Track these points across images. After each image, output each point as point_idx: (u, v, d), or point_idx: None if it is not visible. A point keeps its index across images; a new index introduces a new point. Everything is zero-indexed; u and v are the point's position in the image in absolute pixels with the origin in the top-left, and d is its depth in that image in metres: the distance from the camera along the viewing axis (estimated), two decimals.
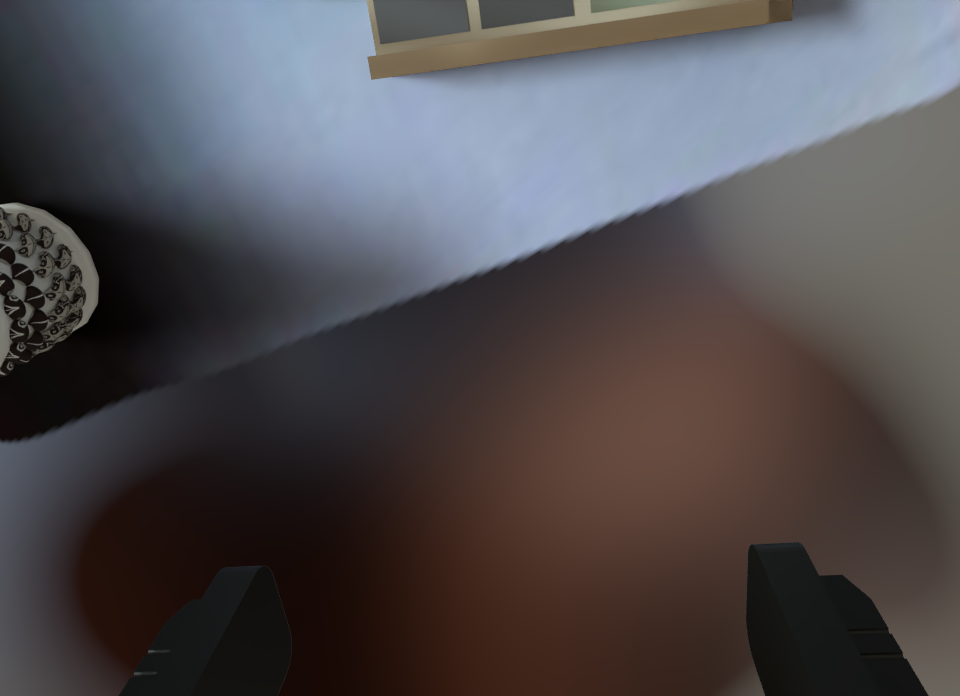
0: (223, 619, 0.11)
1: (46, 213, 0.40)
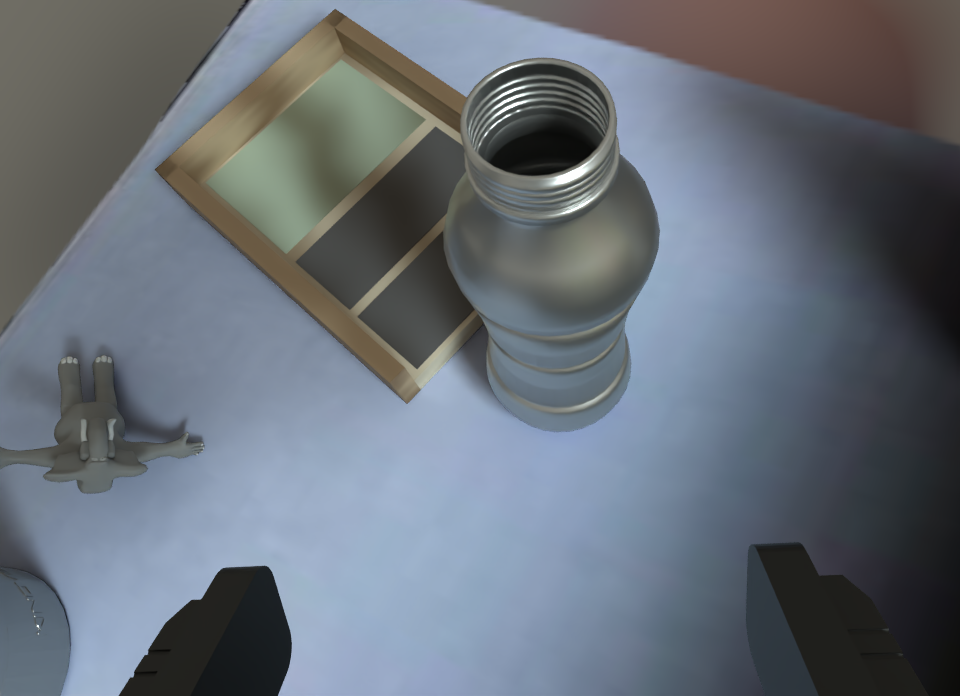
0: (223, 619, 0.11)
1: None
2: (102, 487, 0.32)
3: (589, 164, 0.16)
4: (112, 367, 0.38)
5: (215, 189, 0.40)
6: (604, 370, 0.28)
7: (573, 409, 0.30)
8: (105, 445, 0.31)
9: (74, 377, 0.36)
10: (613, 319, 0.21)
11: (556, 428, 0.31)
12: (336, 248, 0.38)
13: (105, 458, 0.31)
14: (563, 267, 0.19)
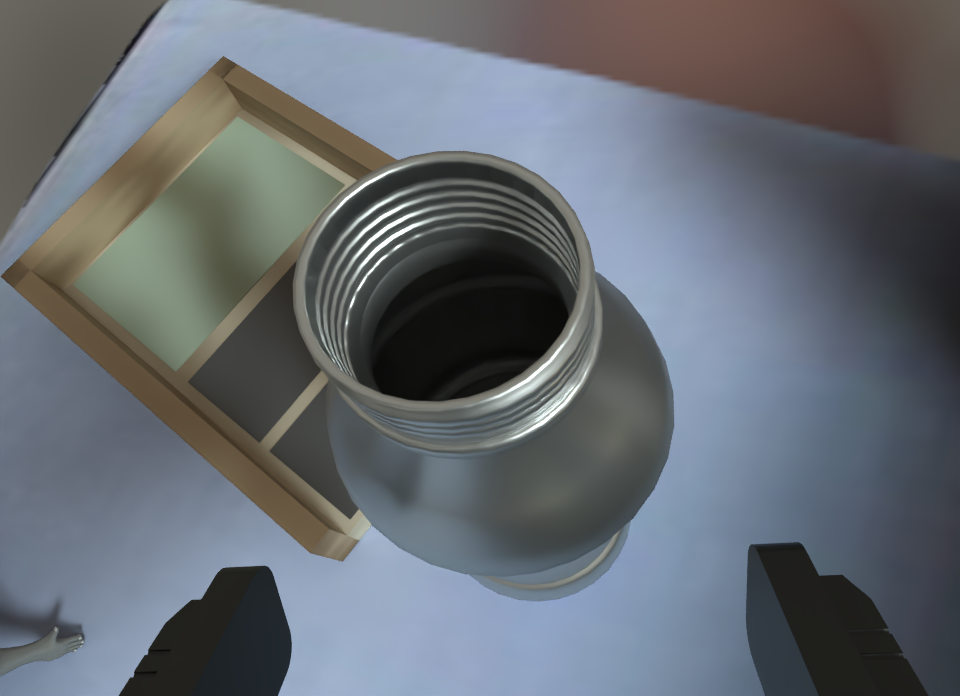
0: (223, 619, 0.11)
1: None
2: None
3: (548, 367, 0.08)
4: None
5: (85, 292, 0.32)
6: None
7: (559, 584, 0.21)
8: None
9: None
10: None
11: (538, 600, 0.23)
12: (239, 360, 0.29)
13: None
14: (519, 502, 0.11)
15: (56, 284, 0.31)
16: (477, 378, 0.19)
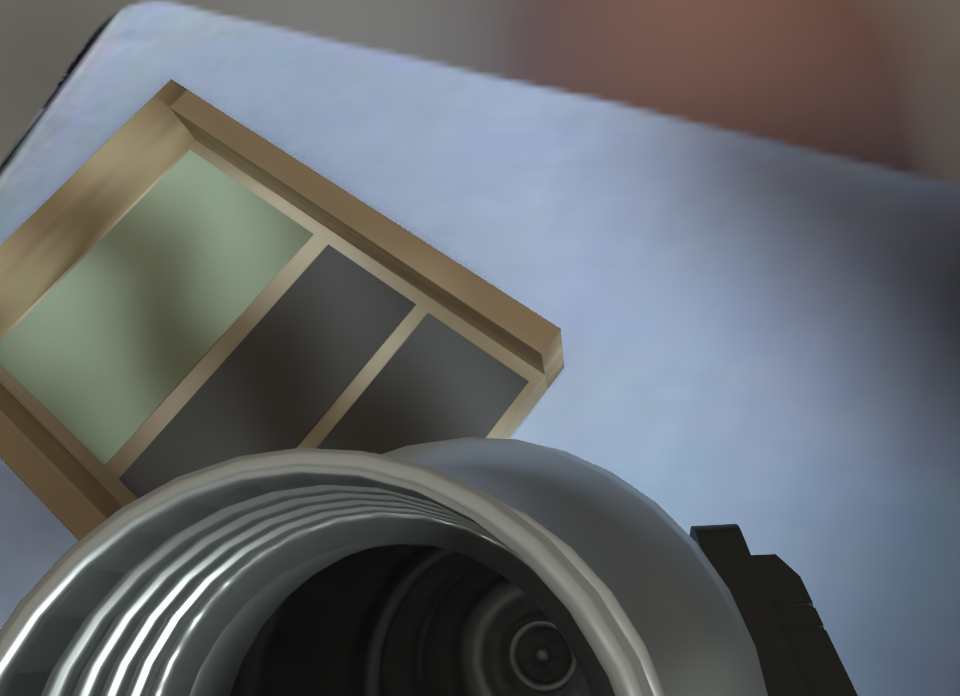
0: None
1: None
2: None
3: None
4: None
5: (4, 362, 0.27)
6: None
7: None
8: None
9: None
10: None
11: None
12: (181, 452, 0.24)
13: None
14: None
15: None
16: None
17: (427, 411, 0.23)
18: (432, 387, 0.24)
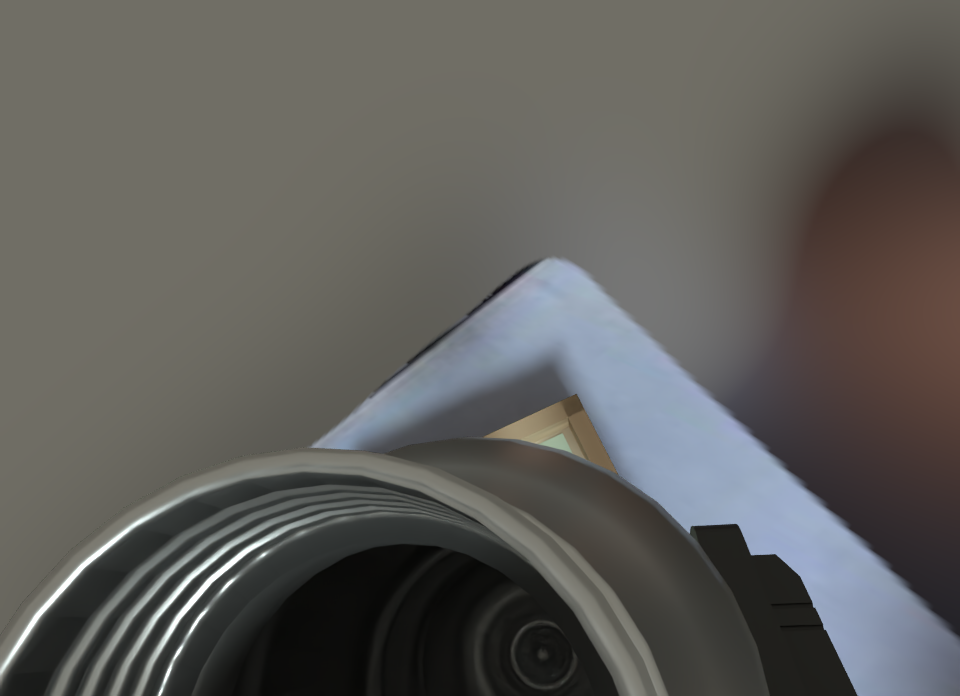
0: None
1: None
2: None
3: None
4: None
5: None
6: None
7: None
8: None
9: None
10: None
11: None
12: None
13: None
14: None
15: None
16: None
17: None
18: None
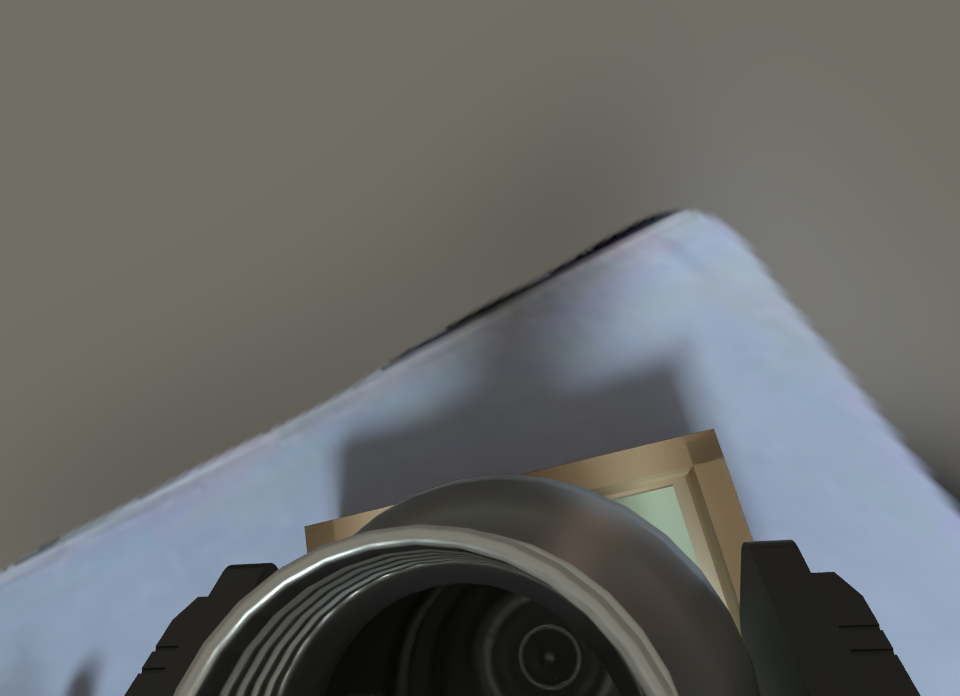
0: None
1: None
2: None
3: None
4: None
5: None
6: None
7: None
8: None
9: None
10: None
11: None
12: None
13: None
14: None
15: None
16: None
17: None
18: None
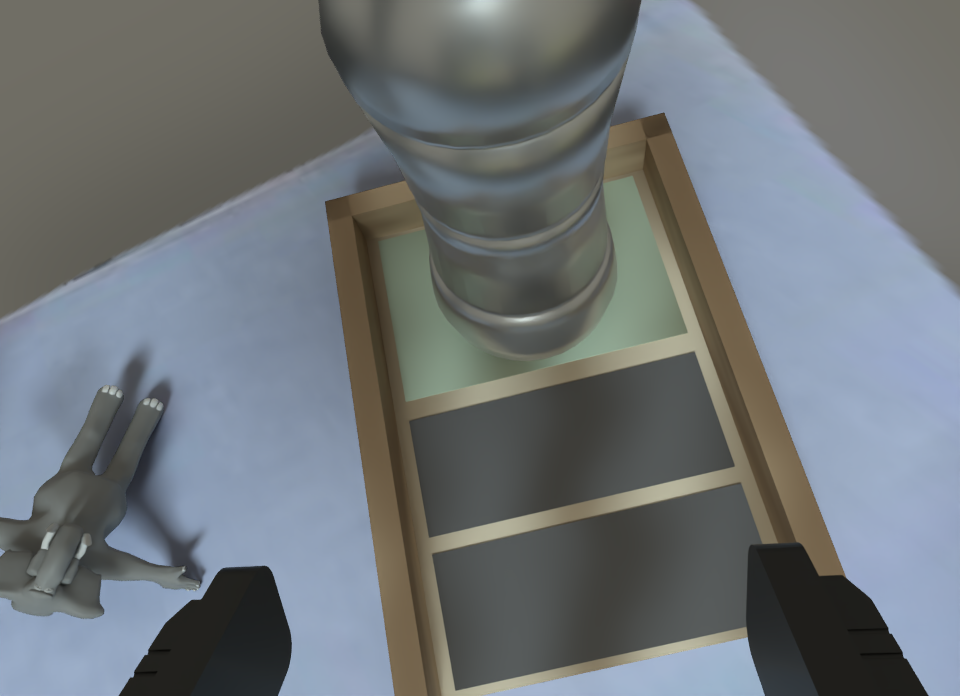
0: (223, 619, 0.11)
1: None
2: (38, 614, 0.23)
3: None
4: (158, 417, 0.29)
5: (383, 257, 0.29)
6: (581, 250, 0.20)
7: (545, 317, 0.22)
8: (59, 574, 0.23)
9: (104, 419, 0.28)
10: (583, 118, 0.14)
11: (526, 351, 0.24)
12: (466, 438, 0.26)
13: (52, 590, 0.23)
14: None
15: (364, 234, 0.29)
16: None
17: (681, 568, 0.23)
18: (699, 552, 0.23)
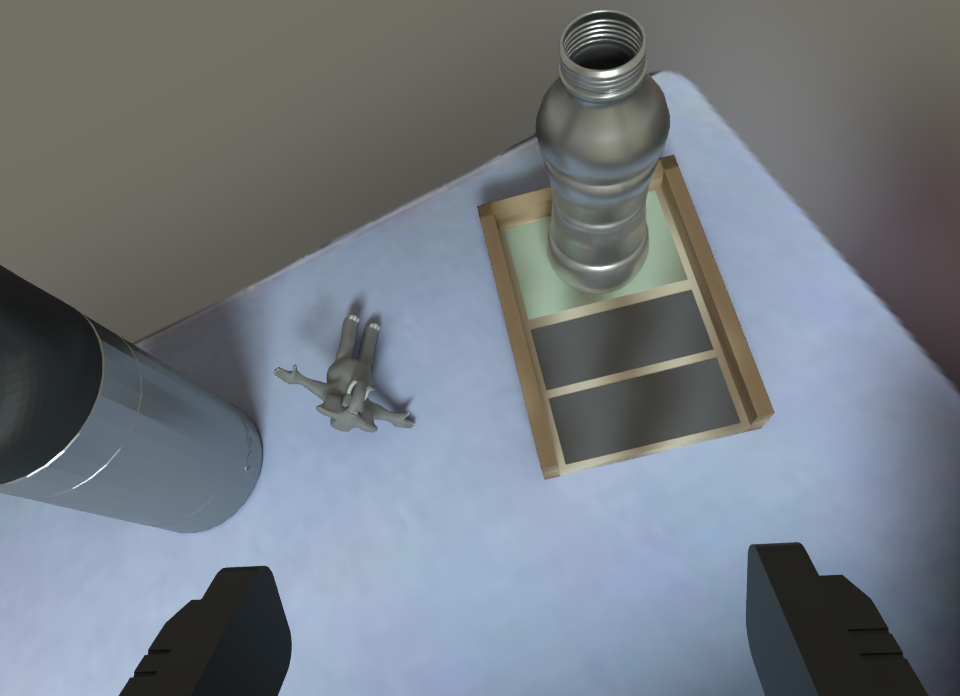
0: (223, 619, 0.11)
1: None
2: (345, 429, 0.44)
3: (635, 61, 0.29)
4: (378, 334, 0.50)
5: (508, 239, 0.50)
6: (635, 231, 0.41)
7: (613, 266, 0.43)
8: (361, 404, 0.43)
9: (353, 333, 0.48)
10: (645, 173, 0.35)
11: (601, 286, 0.45)
12: (564, 338, 0.47)
13: (357, 413, 0.43)
14: (618, 132, 0.32)
15: (497, 225, 0.50)
16: None
17: (684, 401, 0.44)
18: (694, 392, 0.44)
